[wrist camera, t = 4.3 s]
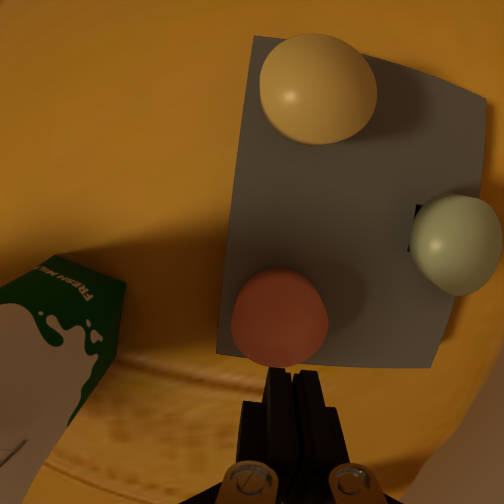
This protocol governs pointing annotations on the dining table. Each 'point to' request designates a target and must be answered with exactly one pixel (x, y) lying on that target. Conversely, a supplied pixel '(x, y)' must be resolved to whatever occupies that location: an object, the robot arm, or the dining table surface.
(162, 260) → the dining table surface
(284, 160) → the plate
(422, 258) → the pale green ball
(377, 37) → the dining table surface
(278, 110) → the tan rounded piece
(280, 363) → the red rounded lump
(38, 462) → the milk carton
